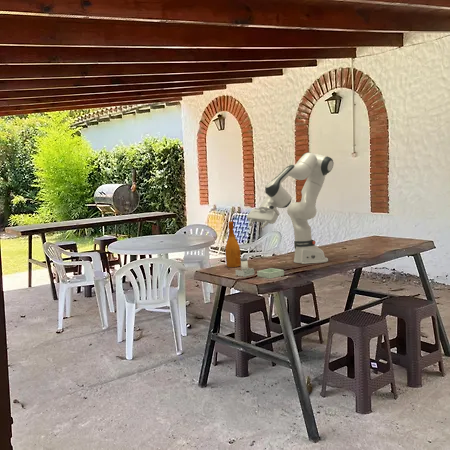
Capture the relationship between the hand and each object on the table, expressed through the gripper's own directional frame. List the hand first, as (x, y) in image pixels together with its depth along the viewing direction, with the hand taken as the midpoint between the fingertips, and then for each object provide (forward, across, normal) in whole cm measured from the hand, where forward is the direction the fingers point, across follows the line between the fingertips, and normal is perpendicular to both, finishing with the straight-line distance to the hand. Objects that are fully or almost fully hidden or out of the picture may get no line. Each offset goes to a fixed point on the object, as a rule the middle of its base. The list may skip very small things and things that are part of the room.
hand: (256, 226), depth 309 cm
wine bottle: (+14, -26, +29) cm, 42 cm away
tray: (+22, +15, +17) cm, 31 cm away
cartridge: (+26, -1, +15) cm, 30 cm away
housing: (+26, -1, +15) cm, 30 cm away
